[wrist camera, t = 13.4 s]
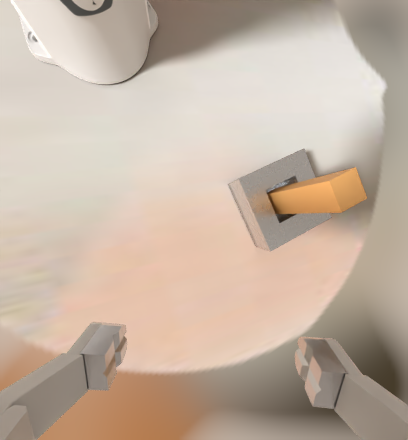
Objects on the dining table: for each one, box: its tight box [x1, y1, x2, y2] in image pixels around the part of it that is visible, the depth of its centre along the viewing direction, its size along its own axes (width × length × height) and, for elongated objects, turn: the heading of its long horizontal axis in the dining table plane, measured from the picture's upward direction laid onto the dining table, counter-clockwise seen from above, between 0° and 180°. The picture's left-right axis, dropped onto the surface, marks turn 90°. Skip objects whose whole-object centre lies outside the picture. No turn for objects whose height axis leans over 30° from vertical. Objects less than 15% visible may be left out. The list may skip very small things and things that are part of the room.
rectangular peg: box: [267, 167, 367, 214], centre depth 26 cm, size 4×4×14 cm
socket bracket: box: [228, 149, 331, 251], centre depth 31 cm, size 12×12×5 cm
